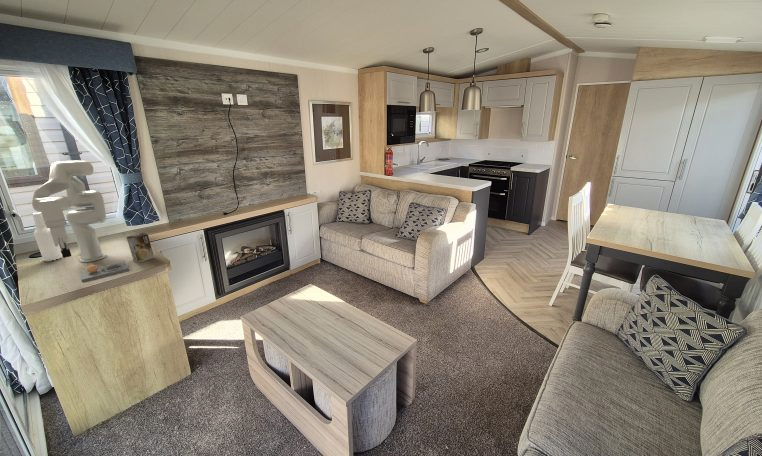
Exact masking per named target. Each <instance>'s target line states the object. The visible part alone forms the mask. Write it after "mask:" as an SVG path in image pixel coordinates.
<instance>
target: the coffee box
mask: <svg viewBox="0 0 762 456" xmlns="http://www.w3.org/2000/svg"><path fill="white" fill-rule="evenodd" d="M126 240H127V243H128V246H129V250H130V254H131V256H132V260H133V262H135V263H138V264H140V263H143V262H146V261H149V260H151V259H152V260H153V259H154V258H155V256H154V252H153V249H152V245H151V242H150V237H149V234H148V233H145V232H139V233H137V234H132V235H129V236H126Z"/></svg>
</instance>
